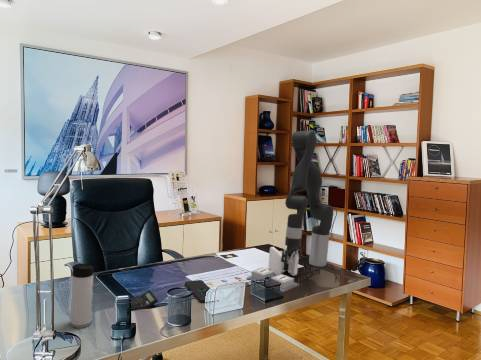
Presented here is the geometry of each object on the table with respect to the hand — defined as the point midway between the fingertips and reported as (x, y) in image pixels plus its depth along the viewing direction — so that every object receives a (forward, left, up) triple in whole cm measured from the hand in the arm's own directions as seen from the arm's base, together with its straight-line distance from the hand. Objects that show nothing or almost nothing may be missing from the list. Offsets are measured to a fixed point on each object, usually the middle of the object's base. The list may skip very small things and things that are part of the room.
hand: (290, 268), depth 182 cm
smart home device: (+47, -13, -4) cm, 49 cm away
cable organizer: (-1, -5, -4) cm, 7 cm away
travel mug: (+95, -20, -4) cm, 97 cm away
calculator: (+72, -20, -4) cm, 75 cm away
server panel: (+14, -1, -4) cm, 14 cm away
